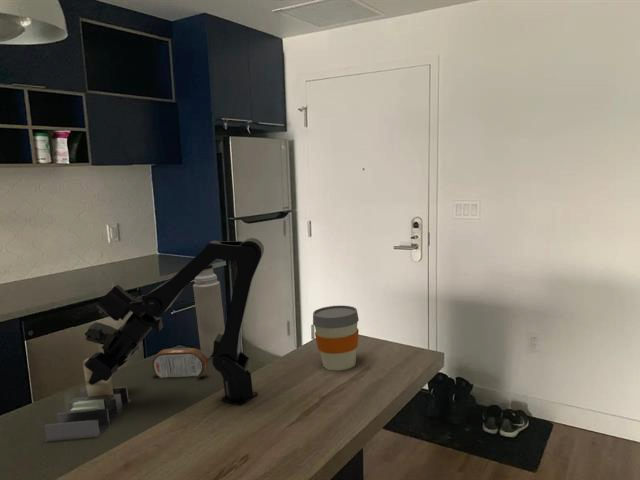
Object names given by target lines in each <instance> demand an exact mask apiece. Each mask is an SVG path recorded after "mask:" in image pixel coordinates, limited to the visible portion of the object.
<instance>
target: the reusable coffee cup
mask: <svg viewBox="0 0 640 480" xmlns="http://www.w3.org/2000/svg"><path fill="white" fill-rule="evenodd" d="M358 323H359V315H358V309H357V308H356V307H355V306H350V305H329V306H324V307H319V308H318V309H316V310H314V311H313V312H312V325H313V326H314V330H315V332H314V335H315V336H314V337H315V341H316V345H317V349H318V350H319V352H320V357H321V362H322V366H323V368H324V367H325V368H324V369H326V370H329V371H344V370H348V369H349V370H350V369H351V368H353V367H355V365H356V360H357V358H356V357H357V348H358V346H359V328H358Z"/></svg>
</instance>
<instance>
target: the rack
mask: <svg viewBox="0 0 640 480" xmlns="http://www.w3.org/2000/svg"><path fill="white" fill-rule="evenodd" d="M129 398H130V397H129V392H128V386H119V387H117V386H116V387H113V394H112V395H101V396H90V397H88V394H87V389H85V390H83V389H82V390H81V397H74V398H72V400H70V401H69V402H68V403H67V407H68V411H66V412H58V413H57V414H56V419H57V423H46V424H44V425H43V426H44V432H45V439H46V440H44V442H45V443H46V442H58V441H68V440H78V439H90V438H91V439H92V438H100V437H101V438H102V437H103V435H104V434H105V433H106V431H107V430H108V429H109V427H110V426H111V425H112V424H113V423H114V422H115V420H116V419H117V418H118V416H119V415H120V414H121V413H122V412H123V411H124V409H125V408H126V407H127V405H128V404H129V403H130V402H131V399H129ZM100 399H104V406H105V409H96V410H85V411H74V412H71V411H70V410H71V409H72V408H73V405H72V404H74V403H75V402H78V401H89V400H100Z"/></svg>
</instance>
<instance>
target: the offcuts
mask: <svg viewBox="0 0 640 480" xmlns="http://www.w3.org/2000/svg"><path fill="white" fill-rule="evenodd" d="M72 405H73V408H72V409H71V410H70V411H71V412H74V411H85V410H96V409H105V406H104V399H100V400H89V401H78V402H75V403H74V404H72Z"/></svg>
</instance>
